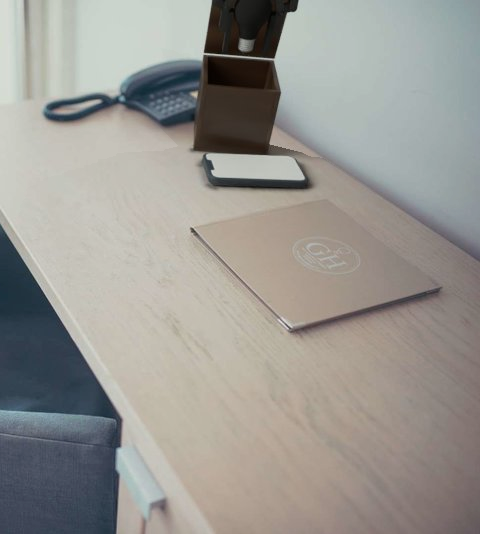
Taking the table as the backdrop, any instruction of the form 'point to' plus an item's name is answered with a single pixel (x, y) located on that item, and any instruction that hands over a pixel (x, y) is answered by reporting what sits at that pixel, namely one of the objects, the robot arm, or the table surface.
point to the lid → (216, 36)
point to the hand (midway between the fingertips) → (244, 51)
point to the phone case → (253, 170)
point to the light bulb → (250, 21)
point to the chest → (236, 105)
